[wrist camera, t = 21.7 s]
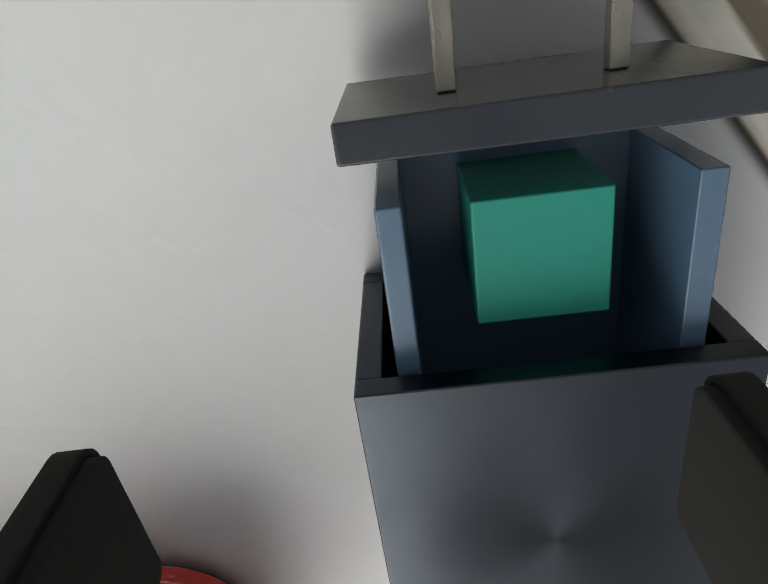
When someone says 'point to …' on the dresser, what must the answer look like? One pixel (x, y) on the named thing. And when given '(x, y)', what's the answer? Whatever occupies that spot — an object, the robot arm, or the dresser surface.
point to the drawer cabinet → (536, 459)
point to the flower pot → (186, 576)
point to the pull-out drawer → (543, 134)
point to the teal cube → (536, 235)
